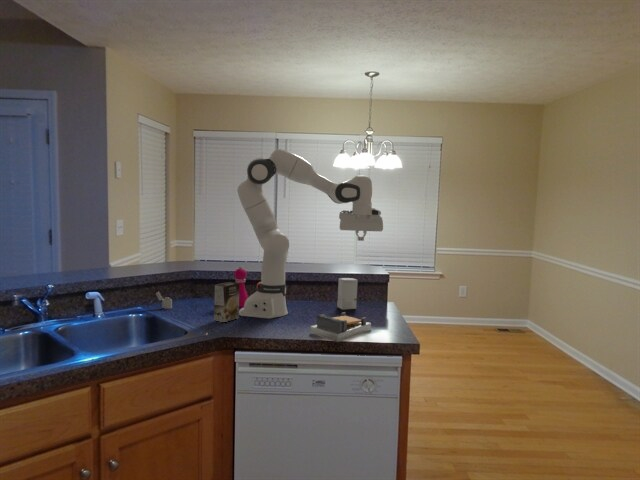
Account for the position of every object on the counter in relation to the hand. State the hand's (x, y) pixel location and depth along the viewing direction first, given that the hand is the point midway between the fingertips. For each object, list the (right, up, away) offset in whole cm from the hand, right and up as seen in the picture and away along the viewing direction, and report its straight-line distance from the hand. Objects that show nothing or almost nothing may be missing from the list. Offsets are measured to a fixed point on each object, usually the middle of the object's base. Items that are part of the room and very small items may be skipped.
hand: (360, 240), depth 204 cm
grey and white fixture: (-10, -37, -25) cm, 46 cm away
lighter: (-93, -32, +3) cm, 99 cm away
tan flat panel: (-9, -33, -25) cm, 42 cm away
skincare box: (-6, -34, +15) cm, 37 cm away
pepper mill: (-59, -33, +13) cm, 68 cm away
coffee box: (-60, -35, -13) cm, 70 cm away
